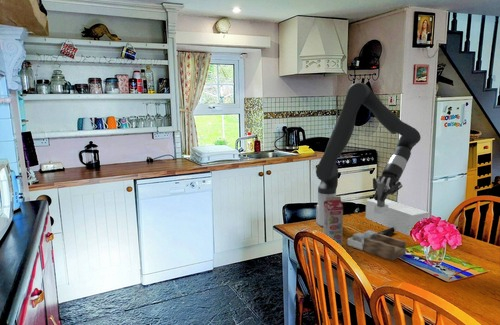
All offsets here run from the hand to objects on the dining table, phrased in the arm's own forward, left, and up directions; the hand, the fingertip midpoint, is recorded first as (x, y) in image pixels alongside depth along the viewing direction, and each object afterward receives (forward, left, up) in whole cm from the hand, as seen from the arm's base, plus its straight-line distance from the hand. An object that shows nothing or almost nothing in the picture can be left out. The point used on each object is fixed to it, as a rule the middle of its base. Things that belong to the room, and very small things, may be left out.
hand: (378, 199), depth 152 cm
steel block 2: (-3, 0, -19) cm, 20 cm away
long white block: (-12, +36, -23) cm, 44 cm away
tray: (-8, 0, -22) cm, 24 cm away
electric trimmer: (-7, +18, -23) cm, 30 cm away
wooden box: (+3, 0, -22) cm, 23 cm away
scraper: (0, +2, -6) cm, 6 cm away
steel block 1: (-7, 0, -20) cm, 21 cm away
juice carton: (-17, -9, -23) cm, 29 cm away
